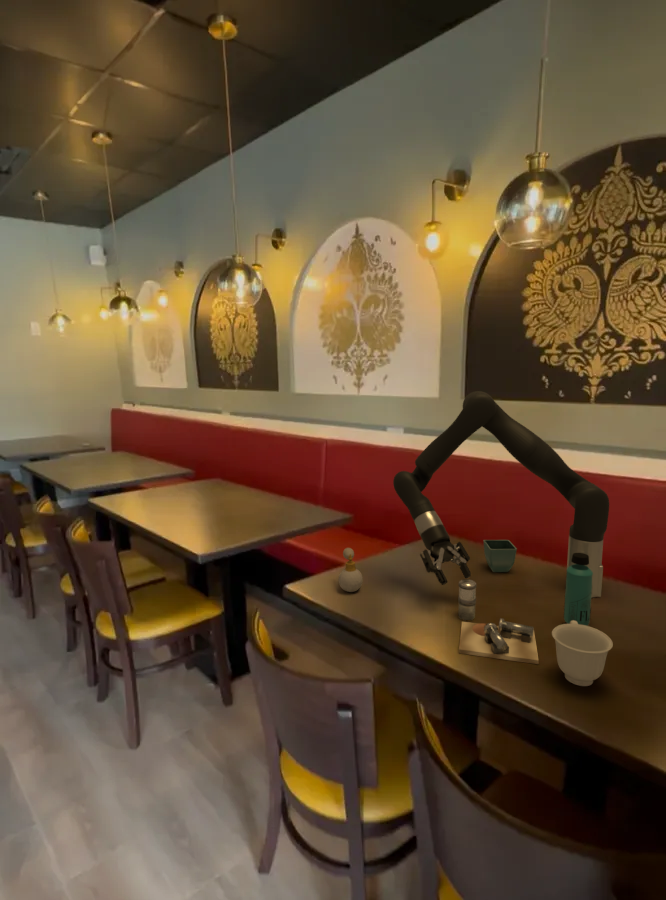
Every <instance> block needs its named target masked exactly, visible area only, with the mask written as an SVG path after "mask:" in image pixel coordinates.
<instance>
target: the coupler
mask: <svg viewBox="0 0 666 900" xmlns="http://www.w3.org/2000/svg"><path fill="white" fill-rule="evenodd" d="M476 590H477V582H476V581H475V580H472V579H469V578H467V579H465V578H463V579H460V580H459V581H458V600H457V601H458V613H457V614H458V616H459V617H458V616H457V617H458V618H459V619H460V620H462V619H463V621H466V620H471V621H474V620H475V619H476V604H477V596H476V593H477V591H476ZM474 618H475V619H474ZM473 619H474V620H473Z"/></svg>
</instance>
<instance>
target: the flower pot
mask: <svg viewBox="0 0 666 900" xmlns="http://www.w3.org/2000/svg"><path fill="white" fill-rule="evenodd" d="M517 550H518V548H517V547H516V546H515V545H514V544H513V543H512V542H511V541H510V540H509V539H483V552H484V557H485V560H486V563H487V565H488V567H489V568H490V570H491V571H492V572H493V573H508V572H510V570H511V569H512V568H513V566H514V565H515V560H516V555H517Z"/></svg>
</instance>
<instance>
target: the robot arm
mask: <svg viewBox="0 0 666 900" xmlns="http://www.w3.org/2000/svg"><path fill="white" fill-rule="evenodd" d="M482 427H483V428H484V429H485V430H486V431H487V432H489V433H490V434H492V435H493V436H494V437H495V438H496V439H497V441H498V442H499V443H500V444H501V445H502V447H503V448H504V449H505V450H506V451H507V452H508V453H509V454H510V455H511V456H512V457H513V458H514V459H515V460H516V461H517V462H518V463H520V464H521V465H522V466H524V467H525V468H526V469H527V470H528V471H530V472H531V473H532V474H534V475H535V476H537V477H538V478H540V479H542V480H543V481H545V482H546V483H548V484H550V485H551V486H552V487H553V488H554V489H555V490H557V492H559V494H561V495H562V496H563V498H565V500H566V501H567V502H568V503H569V504H570V506H571V507H572V508H573V509H574V514H573V523H572V524H571V525H570V527H569V530H568V531H569V533H568V545H567V546H568V547H567V548H568V549H567V562H566V564H567V565H566V569H567V568H568V567H569V566H571V565H573V564H574V563H573V562H572V561H571V560H572V555H573V553H584V554H587V555H588V556H589V564H588V565H585V566H587V567H588V568H590V569H591V571H592V572H593V576H592V583H593V584H592V587H593V588H592V595H591V599H592V598H596V597H597V598H601V597H602V585H603V574H604V565H603V564H602V561H603V548H604V547H603V546H604V538H605V533H606V532H607V529H608V524H609V523H608V521H609V512H610V500H609V499H610V498H609V496H608V494H607V492H605V490H603V489H602V488H600V487H599V486H598V485H597V484H595V483H593V482H591V481H589V480H588V479H586V478H585V477H583V476H581V475H580V474H579V473H578V472H576V471H574V470H573V469H572V468H571V467H569V465H568V464H567V463H566V461H564V460H563V458H562V457H561V456H560V455H559V454H558V452H556V451H555V449H554V448H553V447H551V445H549V444H548V443H547V442H546V441H544V440H543V439H542V438H541V437H540V436H538V435H537V434H535V432H534V431H532V430H530V429H529V428H527V427H526V426H525V425H523V424H522V423H520V422H518V421H517V420H515V419H514V418H512V417H511V416H510V415H509V414H508V413H507V412H505V410H504V409H503V408H502V407H501V406H499V404H498V403H497V402H496V401H495V399H493V397H492V396H491V395H490V394H489V393H487V392H485V391H481V390H477V391H476V390H475V391H472V392H470V393H468V394H467V395H466V396H465V398H464V399H463V402H462V409H461V411H460V413H459V414H458V415H457V417H456V419H454V420H453V422H452V423H451V424H450V425H449V426H448V427H447V428H446V429H445V430H444V431H443V432H442V433H441V434H440V435H438V436H437V437H436V438H434V440H432V441H431V443H429V444H428V445H427V446H426V447H425V449H423V451H422V452H421V453H420V454H419V455H418V456H417V457H416V459H415V461H414V464H415V468H414V469H413V471H412V472H410V471H406V470H401V471H398V472H396V474H395V475H394V478H393V480H392V481H393V482H392V483H393V484H392V485H393V488H394V490H395V491H394V492H395V493H396V494H397V496H398V497H399V499H400V500H401V501H402V503H403V504H404V505H405V507H406V508H407V509H408V512H409V513H410V516H411V518H412V519H413V522H414V524H415V527H416V530H417V532H418V535H419V536H420V539H421V541H422V542H423V544H424V546H425V549H424V550H423V551H422V552H420V554H419V555H420V558H421V560H422V563H423V565H424V568H425V570H426V572H427V573H433V574H434V575H435V576H436V579H437V580H438V582H439V584H441V586H445V585H446V584H447V583H448V580H447V579H448V578H447V577H446V576H445V573H444V571H443V570H442V569H441V568H442V564H443V563H445V562H446V563H447V562H451V563H453V564H456V565H458V567H459V569H460V572H461V574H462V575H463V577H464V579H469V578H470V577H471V574H472V573H471V570H470V568H469V566H468V564H467V562H469V561H470V560H471V558H470V555H469V554H468V552H467V551H466V549H465V547H464V545H463V543H462V542H461V541H457V542H456V543H454V544H453V543H452V542H451V540H450V539H451V538H450V534H449V533H448V531H447V530H446V527H445V526H444V523H443V522H442V520H441V518H440V516H439V515H438V513H437V512H436V510H435V508H434V506H433V504H432V502H431V501H430V499H429V498H428V497H427V496H425V495H424V494H423V493H422V492H423V491H424V490H425V489H426V488H427V486H428V484H429V482H430V481H431V479H432V477H433V476H434V474H435V473H436V472H437V470H439V469H440V468H441V467H442V466H443V465H444V463H445V462H446V461H447V460H448V459H449V458H450V457H451V456H452V454H453V453H454V452H456V451H457V449H458V448H460V446H461V445H462V444H463V443H464V442H465V441H466V440H467V439H468V438H470V437H471V436H472V435H473V434H475V433H476V432H477V431H479V430H480V429H481V428H482ZM432 558H433V561H432Z"/></svg>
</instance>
